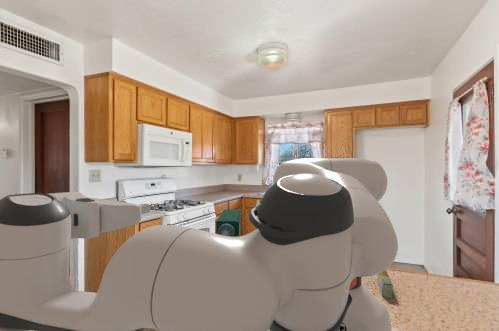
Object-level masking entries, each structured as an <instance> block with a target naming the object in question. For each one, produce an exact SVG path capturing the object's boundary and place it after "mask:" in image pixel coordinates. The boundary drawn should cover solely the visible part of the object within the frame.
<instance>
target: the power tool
mask: <svg viewBox="0 0 499 331" xmlns="http://www.w3.org/2000/svg"><path fill="white" fill-rule="evenodd" d="M222 210H223V211H221V213H220V215H219V216H218V218H217V219H216V221H215V234H219V235H223V236H230V237H239V236H241V231H242V222H241V221H242V219H241V218H242V217H241V209H222Z"/></svg>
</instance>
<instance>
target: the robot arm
mask: <svg viewBox="0 0 499 331" xmlns="http://www.w3.org/2000/svg"><path fill="white" fill-rule="evenodd" d="M274 172H275V173H274V175H273V184H272V185H271V186H270V187H269V188H268V189H267V190H266V191H265V193H264V194H263V196H262V198H261V199H260V200H261V202H260V205H258V206H256V205H255V206H254V207H253V208H251V210H250V211H249V213H248V218H249V221H250V223H251V224H252V226H254V227H255V229H254V230H253V231H251V232H249V233H246V234H244V235H240V236H239V237H230V236H223V235H219V234H216V232H210V231H206V230H202V229H197V228H193V227H188V226H184V225H183V226H182V225H173V224H158V225H157V224H156V225H155V224H154V225H151V226H148V227H146V228H144V229H142V230H139V231H137V232H136V233H135V234H133V235H132V236H130V237H129V238H128V239H127V240H126V241H125V242H124V243H123V244H121V245H120V247H119V248H118V249H117V250H116V252H115V253H114V254H113V255H112V257H111V258H110V260H109V262H108V263H107V265H106V267H105V269H104V271H103V274H102V277H101V281H100V284H99V286H98V289H97V292H91V291H81V290H74V287H73V286H72V285H73V284H72V283H71V282H72V281H71V277H70V263H71V262H70V260H71V259H70V258H71V244H72V243H71V242H72V240H73V239H84V240H85V239H87V240H88V239H89V240H90V239H95V238H98V237H99V236H100V233H106V232H108V233H109V232H112V231H116V230H120V229H121V230H122V229H124V228H129V227H132V226H135V225H138V224H139V223H140V222H141V221H142V215H143V214H147V213H148V214H149V213H150V212H151V205H150V204H148V203H140V204H137V203H131V202H128V201H127V200H112V199H105V198H96V197H88V196H86V195H84V194H83V193H82V192H80V191H69V192H66V191H65V192H55V193H53V192H51V193H44V192H43V193H42V192H31V193H19V194H18V193H16V194H7V195H6V196H3V197H0V331H144V330H146V329H153V330H157V331H400V330H399V329H398V328H396V327H394V326H393V325H392V324H391V317H390V314H389V311H388V309H387V307H386V305H385V304H384V303H382V302H381V301H380V300H379V299H378V298H377V297H376V296H375V295H374V294H373V293H372V292H371V291H370V290H369V289H368V288H367V287H366V286H365V285H364V284H363V283H362V277H365V278H366V277H373V276H377V274H379V273H381V272H383V271H385V270H386V271H387V269H389V267H390V266H391V265H392V264H393V263H394V261H395V259H396V257H397V255H398V250H399V243H398V237H397V235H396V231H395V228H394V225H393V224H392V222H391V220H390V218H389V215H388V214H387V213H386V210H385V209H384V208H383V206H382V204H381V203H380V202H379V201H380V200H381V199H382V198H383V197H384V196H385V194H386V192H387V188H388V176H387V173H386V171H385V169H384V167H383V166H382V165H381V164H380V163H379V162H378V161H375V160H370V159H365V158H364V159H363V158H358V157H341V158H340V157H335V158H333V157H331V158H330V157H329V158H327V157H324V158H323V157H322V158H313V157H312V158H296V159H292V160H290V159H289V160H286V161H283V162H281V163H280V164H279V165H278V166H277V168H276V170H275V171H274ZM256 228H257V229H256Z"/></svg>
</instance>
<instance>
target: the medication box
mask: <svg viewBox="0 0 499 331" xmlns="http://www.w3.org/2000/svg"><path fill="white" fill-rule="evenodd" d="M376 277H377V278H376V282H377V285H378V287H379V292H380V293H381V297H382V298H385V299H393V293H394V292H393V290H394V288H393V286H394V285H393V283H392V281H391V278H390V276H389V273H388V272H387V269H386V270H385V271H383V272H381V273H379V274H377V275H376Z"/></svg>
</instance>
